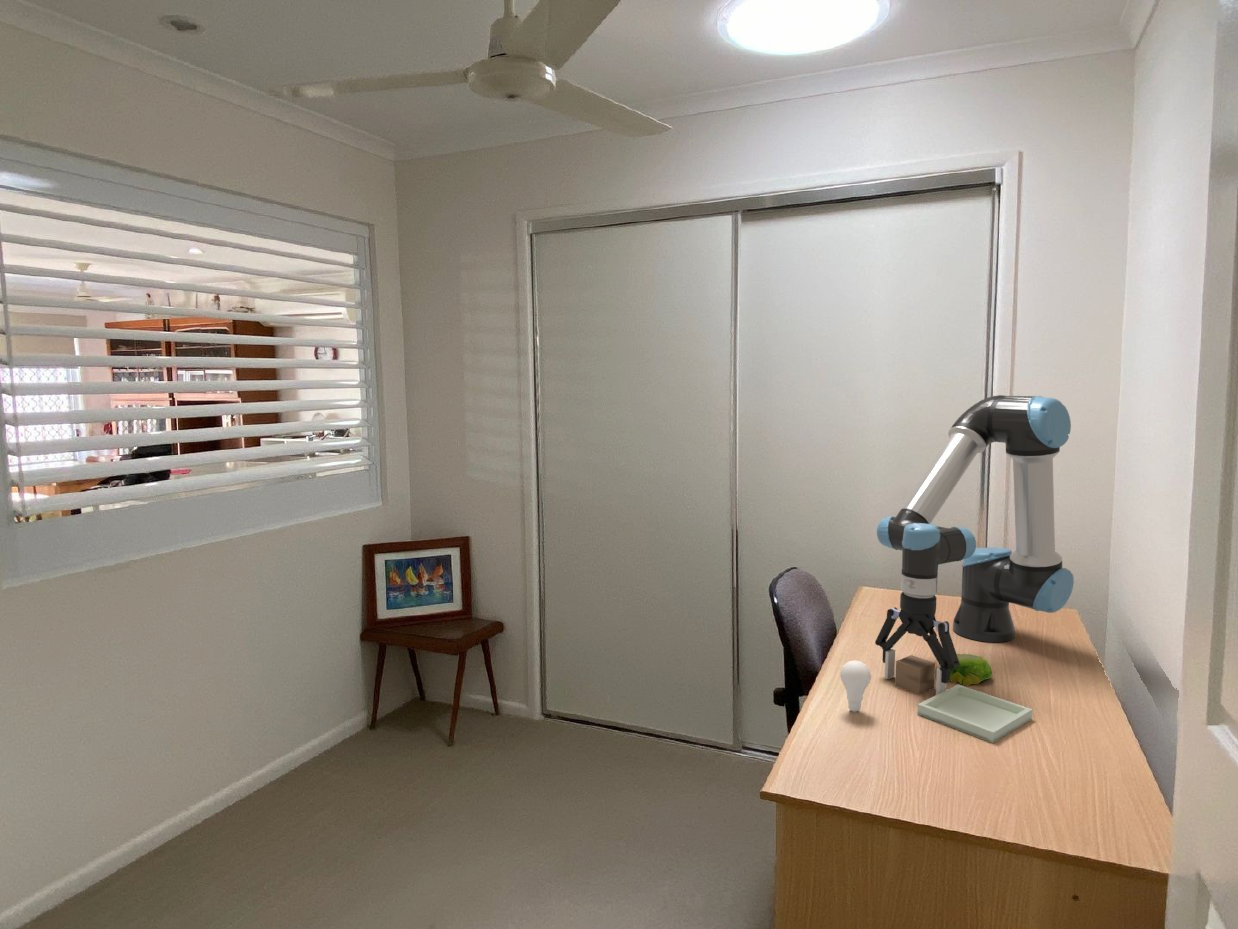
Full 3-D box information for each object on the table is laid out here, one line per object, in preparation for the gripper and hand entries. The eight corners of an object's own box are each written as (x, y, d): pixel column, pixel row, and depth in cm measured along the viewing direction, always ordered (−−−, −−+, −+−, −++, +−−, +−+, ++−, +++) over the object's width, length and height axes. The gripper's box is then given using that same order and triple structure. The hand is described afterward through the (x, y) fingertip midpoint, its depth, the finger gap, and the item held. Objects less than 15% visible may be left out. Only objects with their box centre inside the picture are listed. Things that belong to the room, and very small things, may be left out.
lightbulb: (869, 707, 166) (871, 657, 165) (869, 719, 160) (870, 668, 159) (840, 703, 168) (841, 654, 167) (838, 715, 162) (839, 665, 161)
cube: (910, 679, 180) (911, 655, 179) (934, 688, 176) (935, 662, 175) (895, 686, 177) (896, 661, 176) (919, 695, 172) (920, 669, 171)
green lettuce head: (997, 688, 176) (998, 666, 175) (946, 685, 177) (947, 664, 177) (983, 669, 187) (984, 649, 186) (935, 666, 189) (936, 646, 188)
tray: (957, 693, 172) (958, 684, 172) (1032, 719, 160) (1032, 709, 159) (917, 714, 162) (917, 704, 162) (993, 743, 150) (993, 732, 150)
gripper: (861, 584, 180) (858, 673, 183) (961, 610, 161) (956, 709, 164) (880, 579, 185) (877, 666, 188) (980, 603, 166) (974, 699, 169)
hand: (914, 686), depth 176 cm, fingers open, 12 cm apart
